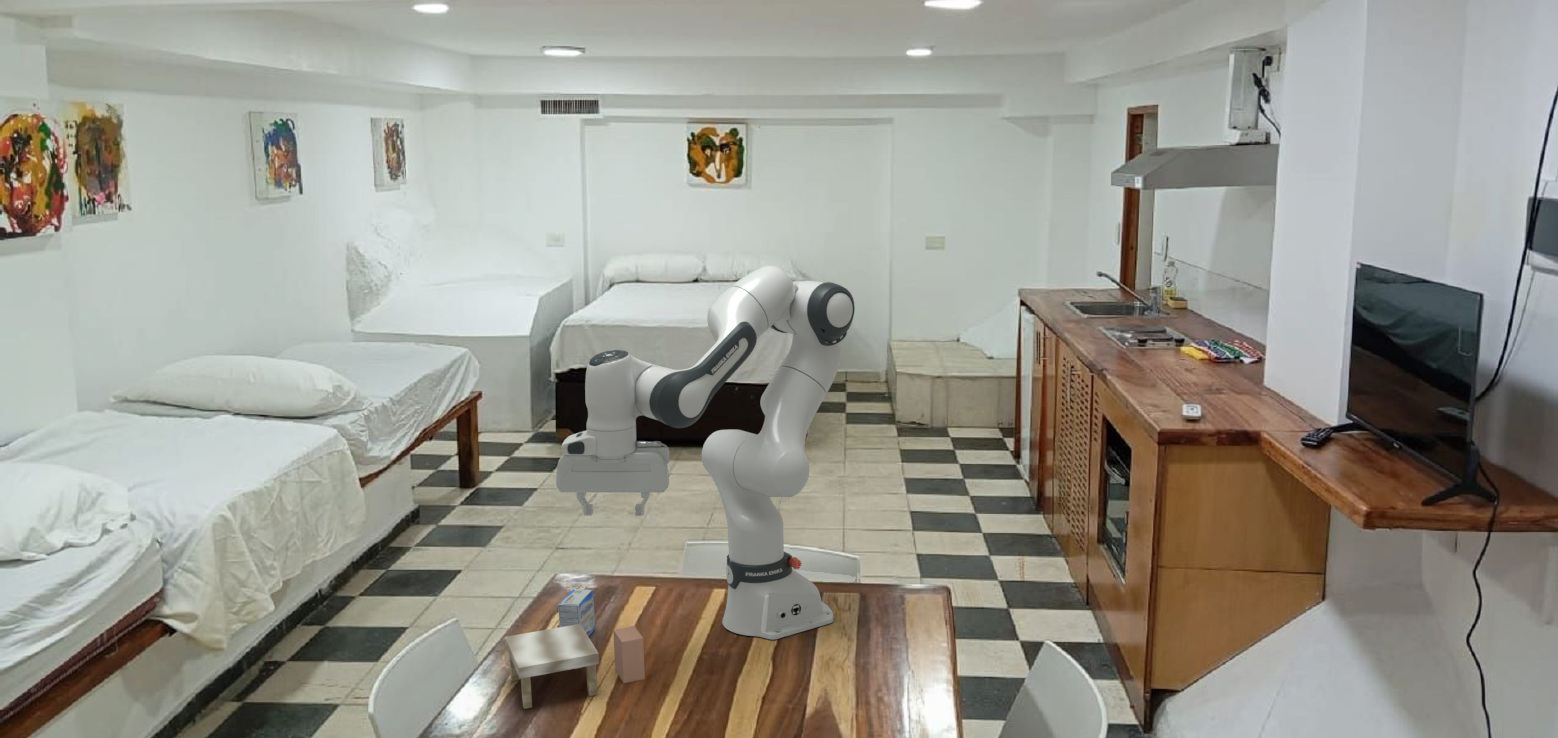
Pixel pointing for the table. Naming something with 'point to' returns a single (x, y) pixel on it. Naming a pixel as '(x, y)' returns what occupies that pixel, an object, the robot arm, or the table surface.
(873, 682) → the table surface
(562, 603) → the medicine box
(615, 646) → the block
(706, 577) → the table surface
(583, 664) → the footstool
